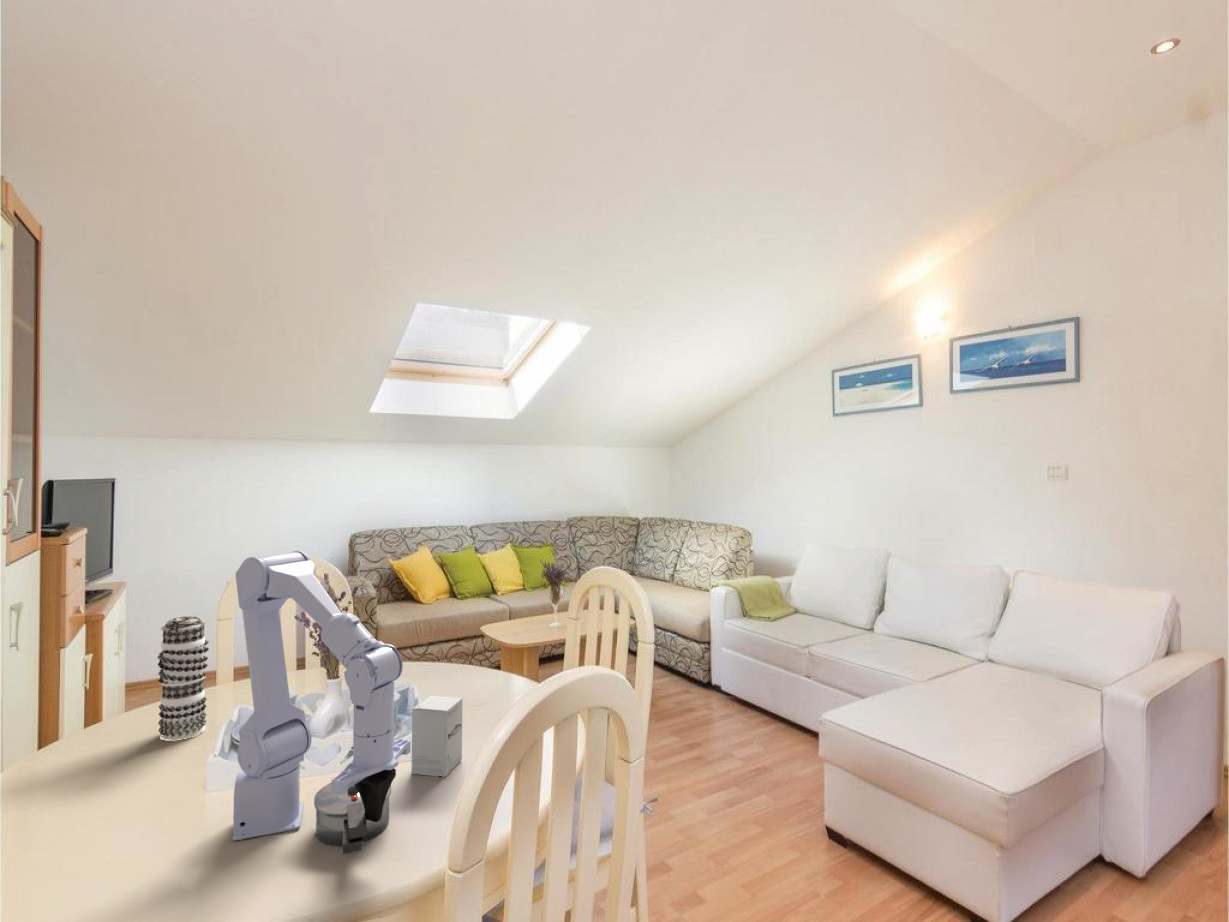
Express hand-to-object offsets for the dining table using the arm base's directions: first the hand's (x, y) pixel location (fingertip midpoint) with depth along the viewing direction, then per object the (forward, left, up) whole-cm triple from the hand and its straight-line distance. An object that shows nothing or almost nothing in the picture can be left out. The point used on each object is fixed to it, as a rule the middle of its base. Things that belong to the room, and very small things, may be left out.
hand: (373, 819), depth 96 cm
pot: (-3, +6, -5) cm, 9 cm away
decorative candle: (-38, +61, -6) cm, 72 cm away
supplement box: (+12, +25, -6) cm, 29 cm away
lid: (-3, +6, -1) cm, 7 cm away
